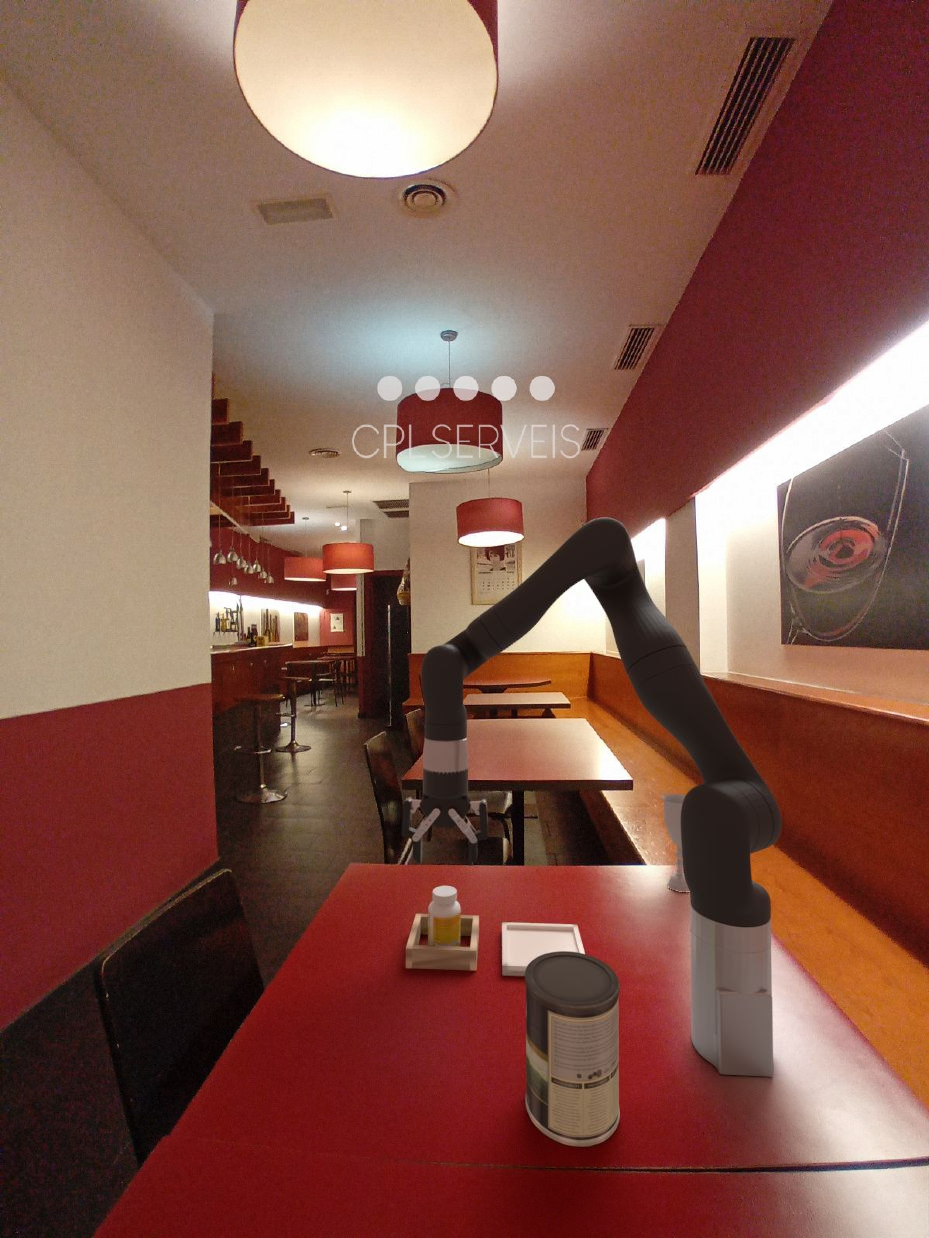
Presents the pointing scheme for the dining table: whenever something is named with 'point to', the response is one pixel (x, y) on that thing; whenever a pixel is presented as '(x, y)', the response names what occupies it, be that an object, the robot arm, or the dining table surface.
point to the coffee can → (572, 1047)
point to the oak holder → (443, 947)
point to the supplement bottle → (444, 918)
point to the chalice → (675, 837)
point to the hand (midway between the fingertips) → (445, 862)
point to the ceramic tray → (535, 943)
